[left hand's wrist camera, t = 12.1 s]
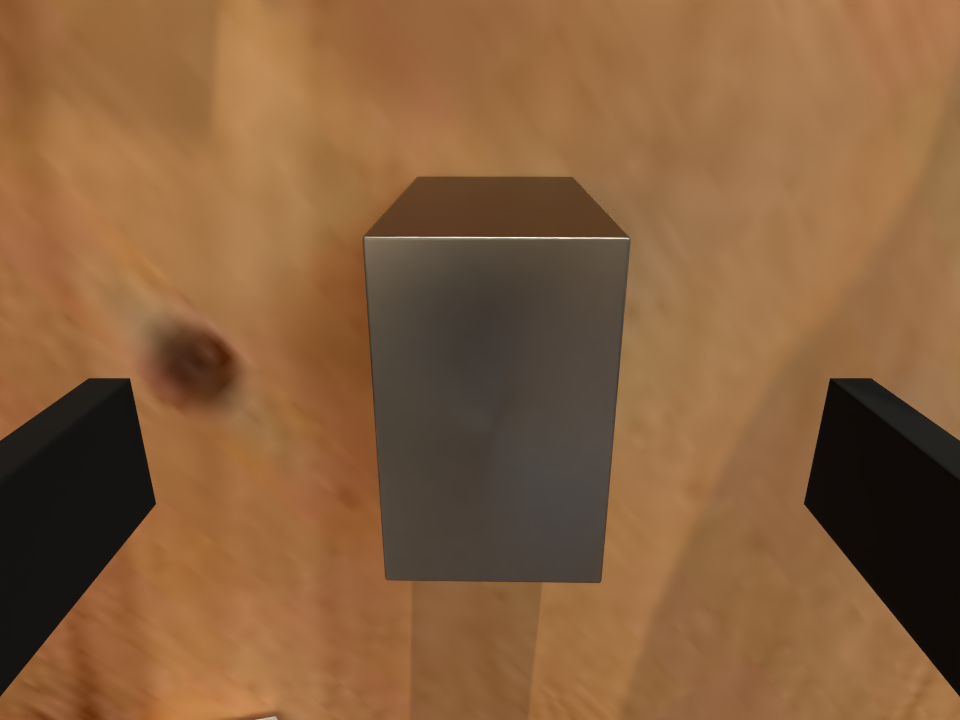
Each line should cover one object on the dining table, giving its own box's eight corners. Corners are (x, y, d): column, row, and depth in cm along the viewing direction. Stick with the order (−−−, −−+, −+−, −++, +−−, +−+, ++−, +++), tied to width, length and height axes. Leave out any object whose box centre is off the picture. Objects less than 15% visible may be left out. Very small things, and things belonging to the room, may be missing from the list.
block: (561, 404, 22) (601, 583, 14) (424, 403, 22) (385, 581, 14) (573, 176, 19) (631, 237, 11) (416, 176, 20) (361, 236, 11)
